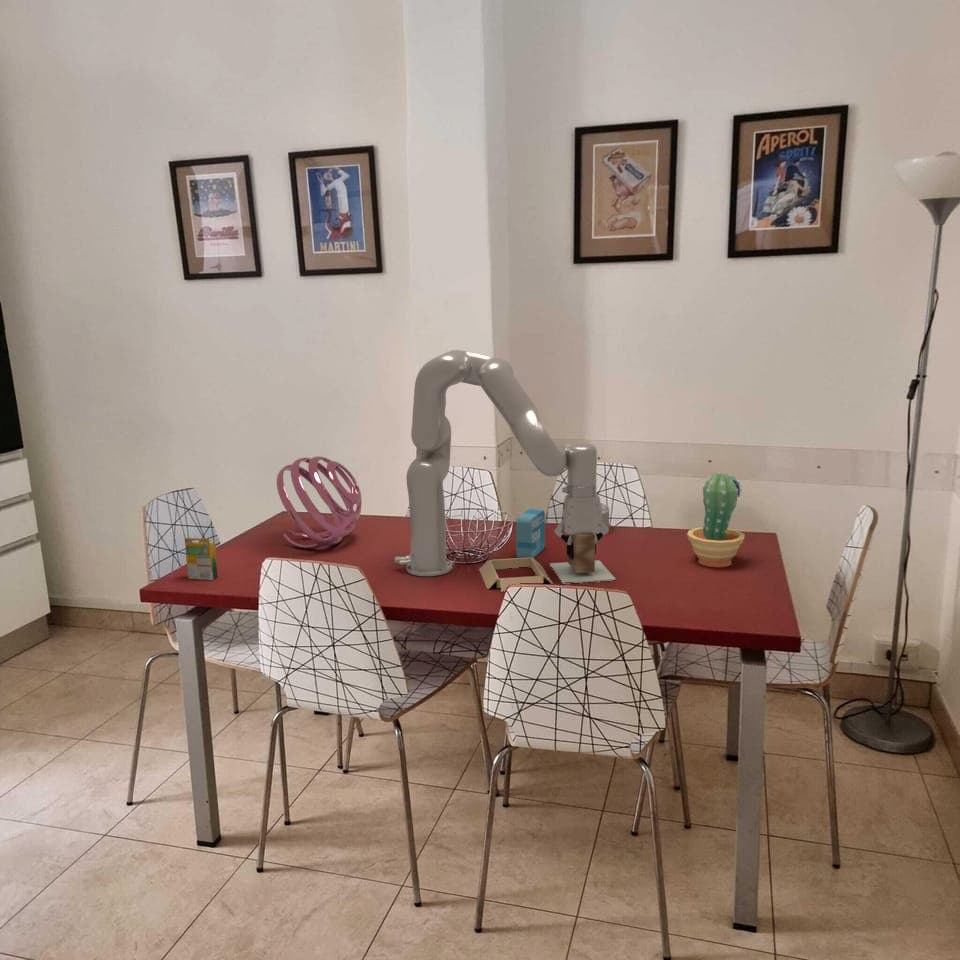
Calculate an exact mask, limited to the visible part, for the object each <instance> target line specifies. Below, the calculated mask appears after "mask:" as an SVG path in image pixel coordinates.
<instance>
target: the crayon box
mask: <svg viewBox="0 0 960 960" xmlns="http://www.w3.org/2000/svg"><path fill="white" fill-rule="evenodd" d="M195 541H196V542H195ZM197 541H199V542H197ZM184 544H185V556H186V557H185V558H186V567H187V568H186V569H187V570H186V571H187V579H188V580H202V581H203V580H207V581H214V580H216V579H217V578H218V577H219V576H218V568H217V567H218V566H217V564H218V563H217V555H216V554H217V553H216V545H215V542H210V538H197V537H196V538H192V537H185V538H184Z"/></svg>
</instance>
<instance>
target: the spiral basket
mask: <svg viewBox="0 0 960 960" xmlns="http://www.w3.org/2000/svg"><path fill="white" fill-rule="evenodd" d="M320 460H321V461H323V462H325V463H326V467H325V466H324V465H323V463H320V462H319V461H320ZM302 462H303V463H306V464H308V465H307V466H308V470H307V469H305V468H304V467H302V466H300V463H302ZM285 471H290V478H291V482H292V485H293V488H294V491H295V493H296V495H297V496H298V499H299V501H300V502H301V504H302V505H303V507H304V508H305V510H306V511H307V513H308V514H309V515H310V516H311V517H312V518H313V520H315V521H316V523H317V524H319V526H321V527H322V528H323V529H324V530H326V531H323V532H315V531H314V530H313V529H312V528H311V527H310V526H309V525H308V524H307V523H306V522H305V521H304V520H303V519H302V517H301V516H300V515H299V513H298V512H297V511H296V509H295V507H294V506H293V504H292V502H291V500H290V498H289V495H288V493H287V491H286V488H285V483H284V474H285ZM319 472H320V473H322V474H323V476H324V477H325V478H326V479H327V480H328V481H329V483H331V485H332V486H333V487H334V488H335V490H336V491H337V493H338V494H339V497H340V498H341V500H342V502H343V504H344V506H345V508H343V507H342V506H341V505H340V504H339V503H337V502H336V501H335V499H334V498H333V496H332V494H330V492H329V491H328V490H327V488H326V487H325V485H324V484H323V483H324V482H322V478H321V477H320V474H319ZM336 472H337V473H338V475H339V476H340V477H341V478H342V479H343V480H344V482H345V484H346V486H348V489H349V490H350V492H349V491H348V490H347V489H346V488H345V487H344V485H343V484H342V483H341V481H340V480H339V477H338V475H337V473H336ZM301 477H303V479H305V480H306V481H308V482H309V483H310V484H311V485H312V486H313V488H314V489H315V490H316V492H317V494H318V495H319V497H320V499H321V500H322V502H323V503H325V505H326V506H327V508H329V510H330V512H331V515H332V516H333V520H334V522H335V524H334V523H332V522H331V521H330V520H328V519H327V518H326V517H325V516H324V515H323V514H322V513H321V511H320V510H319V509H318V508H317V507H316V506H315V504H314V502H313V501H312V500H311V498H310V496H309V495H308V493H307V491H306V489H305V487H304V485H303V483H302V479H301ZM276 489H277V493H278V496H279V500H280V501H281V504H282V506H283V508H284V509H285V511H286V512H287V514H288V516H289V517H290V519H291V520H292V521H293V522H294V524H295V525H296V526H297V527H298V529H299V530H300V531H301V532H302V533H301V532H296V531H292V530H287V533H288V534H290V535H293V536H296V537H299V538H303V539H304V538H305V539H311V540H312V541H314V542H315V544H310V545H304V544H299V543H297V542H295V541H293V540H292V539H290V537H289V536H288V535H287V534H286V533H283V534H282V535H283V538H284V539H285V540H286V541H287V542H288V543H289V544H291V545H293V546H295V547H296V548H300V549H305V550H313V549H319V548H325V547H333V546H336V545H337V544H339V543H340V542H341V541H342V540H343V538H344V537H346V536H349V535H350V534H351V533H352V532H353V530H354V528H355V526H356V521H357V520H359V518H360V516H361V514H362V513H361V512H362V501H363V499H362V492H361V488H360V487H359V484H358V482H357V480H356V478H355V477H354V476H353V474H352V473H351V471H349V470H348V469H347V468H346V467H345V466H344V465H342V463H339V461H335V460H331V459H329V458H327V457H325V456H320V455H319V456H313V457H301V458H298V459H296V460H294V461H293V462H292V464H287V465H285V466H284V467H282V468H281V469H280V470H279V471H278V474H277V476H276ZM355 505H356V508H355V509H354V506H355ZM348 528H349V529H348Z"/></svg>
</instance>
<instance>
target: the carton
mask: <svg viewBox="0 0 960 960" xmlns="http://www.w3.org/2000/svg"><path fill="white" fill-rule="evenodd" d="M529 566H531V567H529ZM519 567H528V568H532V569H533V571H534V572H535V574H536V575H537V576H536V575H535V574H534V576H519V577H518V576H517V577H515V576H514V577H503V578H502V577H501V578H500V577H499V575H498V573H497V571H496V570H507V568H508V570H509V568H512V569H520V568H519ZM532 569H531V570H532ZM478 570H479V572H480V575H481V578H482V580H483V582H484V585H485V587H486V589H487V590H488V589H489V590H490V589H491V588H492V586H494V584H495V583H496V584H495V587H496V588H497V589H498V588H501V589H500V593H506V592H505V590H506V588H507V587H508V586H509V585H512V584H520V583H544V584H545V580H546V581H548V583H550V584H551V585H552V584H554V582H553V581H552V579H551V578H550V576H549V575H548V573H547V571H546V570H545V569H544V567H543V565H542V566H541V563H540V562H538V561H537V560H536V559H535V557H534V558H533V557H532V558H530V557H527V558H520V557H513V558H498V559H497V558H495V559H489V560H488V559H487V560H486V562H485V563H484V564H483V565H482V566H481V567H480V568H479V569H478ZM533 571H532V572H533ZM534 572H533V573H534ZM546 573H547V574H546ZM548 576H549V577H548ZM550 579H551V580H550ZM503 591H504V592H503Z"/></svg>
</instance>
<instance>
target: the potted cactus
mask: <svg viewBox="0 0 960 960" xmlns="http://www.w3.org/2000/svg"><path fill="white" fill-rule="evenodd" d="M741 492H742V485H741V483H740V481H739V480H738V479H737V478H736V477H735V476H731V475H730V474H729V473H728V472H726V473H723V472H721V471H719V472H717V473H716V472H713V473H712V474H711V475H710V476H709V478H707V480H706V481H705V483H704V485H703V487H702V498H703V501H702V502H703V506H704V517H703V518H704V520H703V526H702V527H695V528H693V529H689V530H688V531H687V533H686V536H687V540H688V541H690V543H691V546H692V549H693V552H694V553H695V554H696V556H697V557H698V561H697V562H698V564H700V565H702V566H706V567H709V568H724V567H725V568H726V567H728V566H732V560H733V558H734V557H735V556H737V555H736V554H737V553H738V550H739V549H740V546H741V545H742V544H743V543H744V539H745V533H743V532H741V531H739V530H737V529H733V528H729V525H730V521H731V518H732V514H733V513H734V511H735V508H736V506H737V504H738V503H737V502H738V498H740V497H741Z"/></svg>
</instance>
